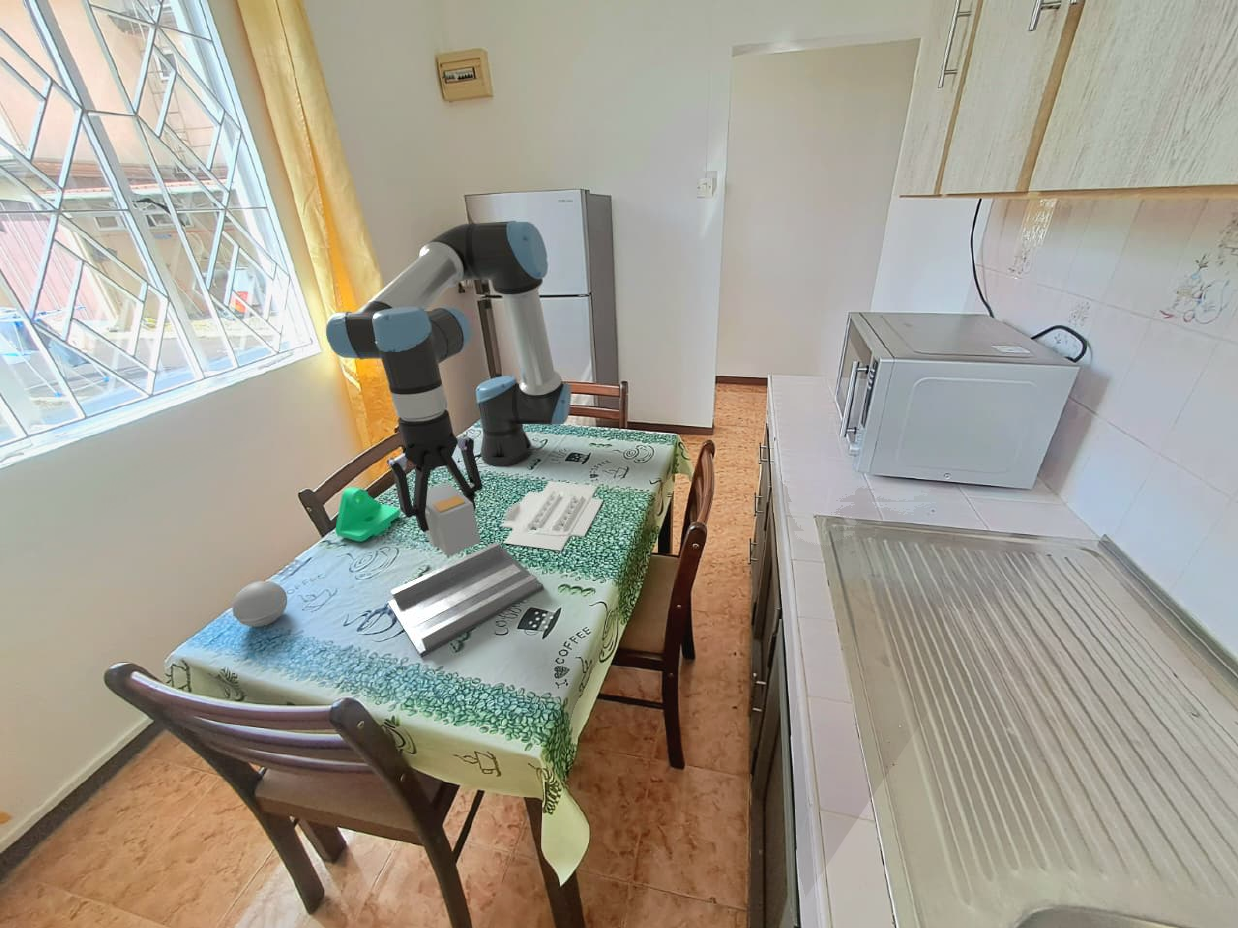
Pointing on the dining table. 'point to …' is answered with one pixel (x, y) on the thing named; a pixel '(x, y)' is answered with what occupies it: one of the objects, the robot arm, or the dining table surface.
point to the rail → (461, 596)
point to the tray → (552, 515)
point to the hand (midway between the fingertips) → (452, 535)
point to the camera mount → (362, 515)
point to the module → (452, 519)
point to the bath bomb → (259, 603)
